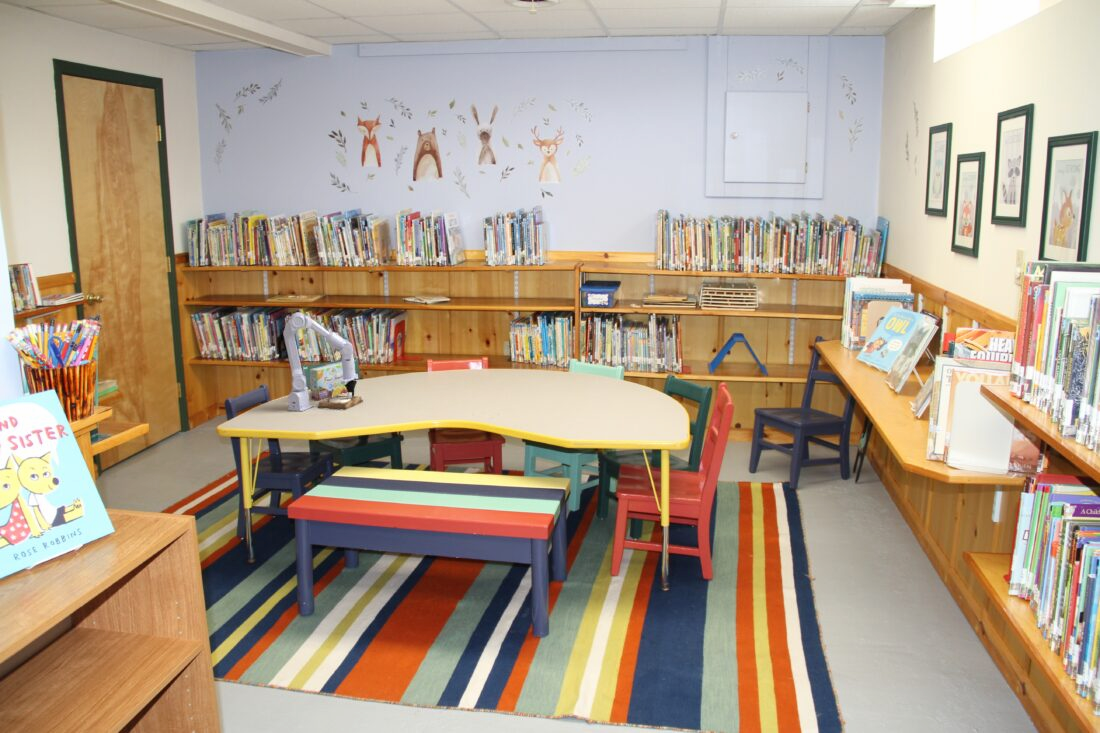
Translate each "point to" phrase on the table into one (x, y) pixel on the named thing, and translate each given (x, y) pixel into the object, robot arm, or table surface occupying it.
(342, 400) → the dial
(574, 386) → the table surface
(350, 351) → the robot arm
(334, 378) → the snack box
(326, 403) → the dial board
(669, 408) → the table surface
